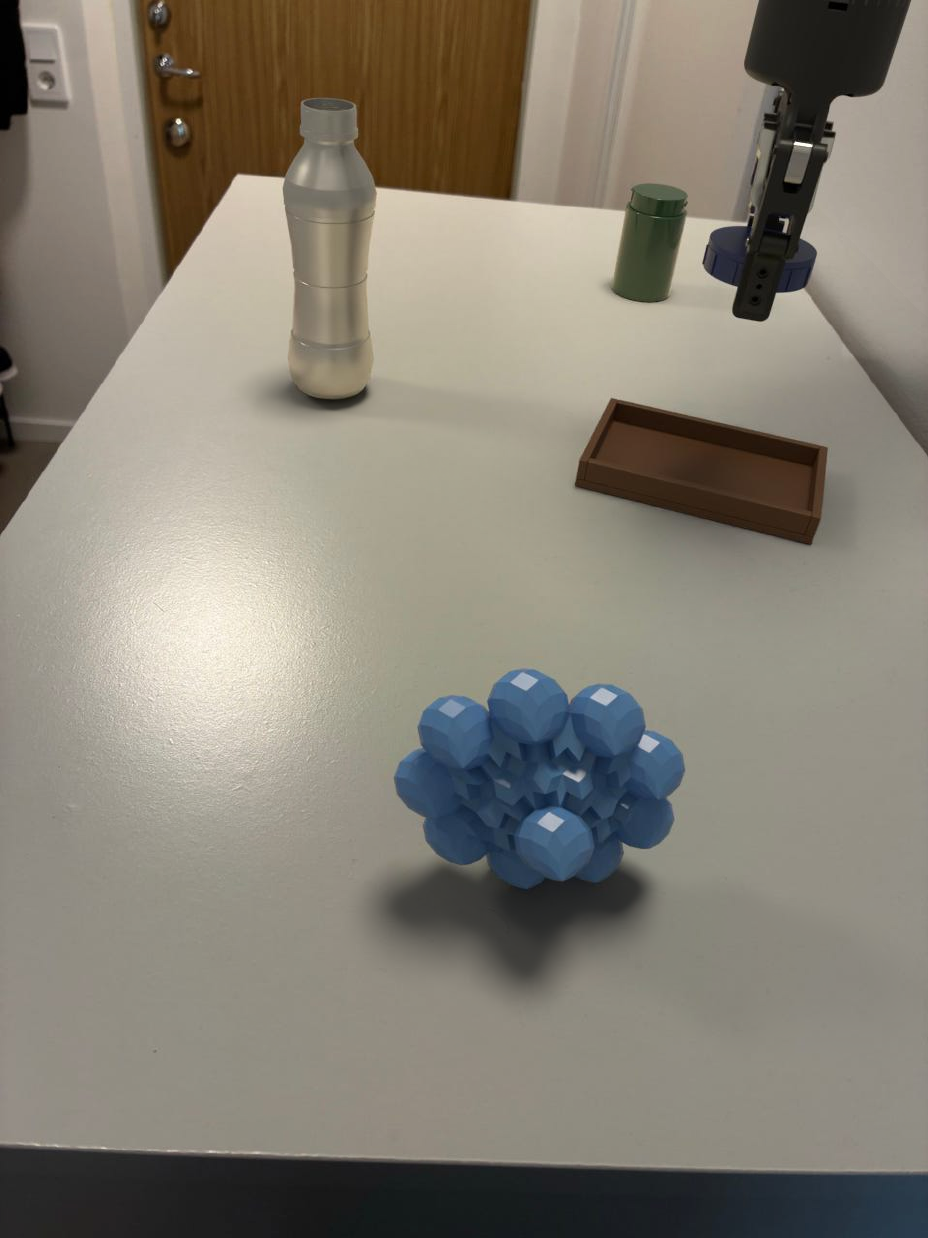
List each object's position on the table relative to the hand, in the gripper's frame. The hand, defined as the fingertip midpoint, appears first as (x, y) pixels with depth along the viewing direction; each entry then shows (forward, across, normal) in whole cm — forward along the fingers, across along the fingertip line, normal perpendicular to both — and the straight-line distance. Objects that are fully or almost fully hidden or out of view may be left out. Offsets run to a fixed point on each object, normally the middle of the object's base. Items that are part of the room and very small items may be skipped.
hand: (750, 296), depth 60 cm
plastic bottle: (+14, -2, -29) cm, 32 cm away
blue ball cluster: (+13, +38, -5) cm, 40 cm away
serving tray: (+13, 0, 0) cm, 13 cm away
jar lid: (-3, 0, 0) cm, 3 cm away
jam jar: (+13, -35, -8) cm, 38 cm away
